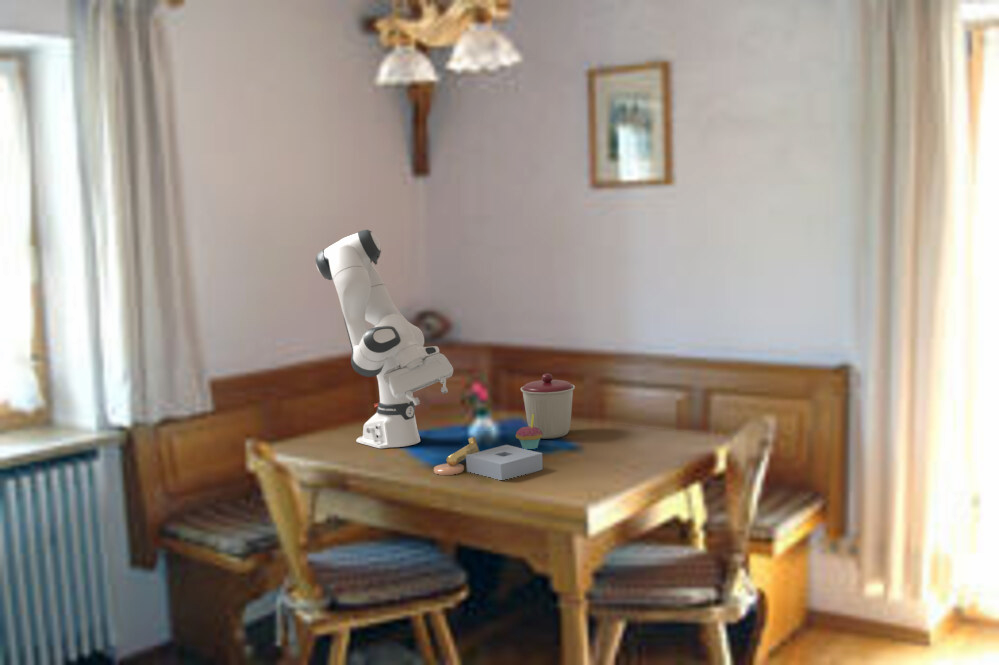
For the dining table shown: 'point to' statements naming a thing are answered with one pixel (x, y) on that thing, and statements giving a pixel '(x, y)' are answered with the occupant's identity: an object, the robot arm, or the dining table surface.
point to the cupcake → (529, 436)
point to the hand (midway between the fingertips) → (431, 398)
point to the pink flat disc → (448, 469)
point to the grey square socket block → (504, 462)
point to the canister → (549, 405)
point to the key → (463, 452)
